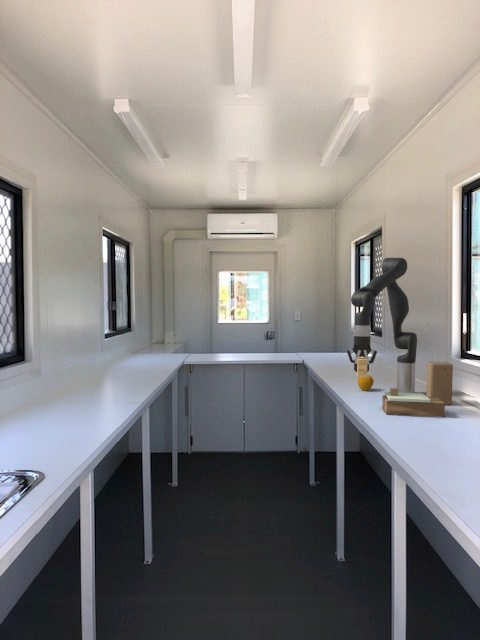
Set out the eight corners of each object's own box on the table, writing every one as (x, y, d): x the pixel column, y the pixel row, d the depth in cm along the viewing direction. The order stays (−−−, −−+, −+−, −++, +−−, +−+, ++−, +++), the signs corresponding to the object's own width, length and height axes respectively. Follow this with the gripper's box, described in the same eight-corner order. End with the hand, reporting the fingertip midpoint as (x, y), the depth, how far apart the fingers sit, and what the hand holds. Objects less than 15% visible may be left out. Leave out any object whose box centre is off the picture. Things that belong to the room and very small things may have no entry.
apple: (375, 390, 250) (376, 374, 249) (369, 392, 243) (369, 376, 243) (361, 388, 255) (362, 372, 255) (354, 390, 249) (354, 374, 249)
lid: (384, 394, 208) (384, 385, 208) (423, 396, 206) (423, 387, 206) (389, 400, 196) (389, 391, 195) (430, 402, 193) (430, 392, 193)
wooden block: (452, 405, 214) (453, 364, 213) (429, 404, 216) (431, 363, 215) (446, 401, 224) (448, 361, 223) (425, 400, 226) (426, 360, 225)
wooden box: (382, 408, 208) (382, 395, 208) (436, 410, 205) (437, 397, 204) (386, 414, 197) (386, 401, 196) (444, 417, 193) (444, 403, 193)
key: (356, 373, 212) (356, 357, 212) (364, 374, 211) (365, 357, 211) (357, 377, 203) (358, 359, 203) (367, 377, 202) (367, 359, 202)
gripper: (376, 334, 209) (376, 371, 210) (345, 334, 211) (345, 370, 212) (379, 336, 202) (378, 373, 202) (346, 335, 204) (346, 372, 205)
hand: (361, 371), depth 207 cm, fingers closed on key, 4 cm apart
